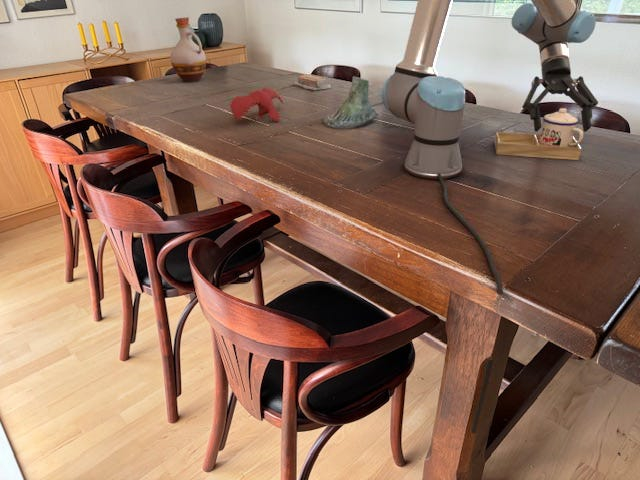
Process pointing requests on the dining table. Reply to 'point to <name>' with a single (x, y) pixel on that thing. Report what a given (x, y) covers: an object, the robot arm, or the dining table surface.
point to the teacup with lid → (559, 129)
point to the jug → (187, 54)
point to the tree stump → (353, 108)
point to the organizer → (532, 147)
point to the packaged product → (312, 82)
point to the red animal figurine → (259, 98)
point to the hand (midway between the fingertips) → (562, 129)
